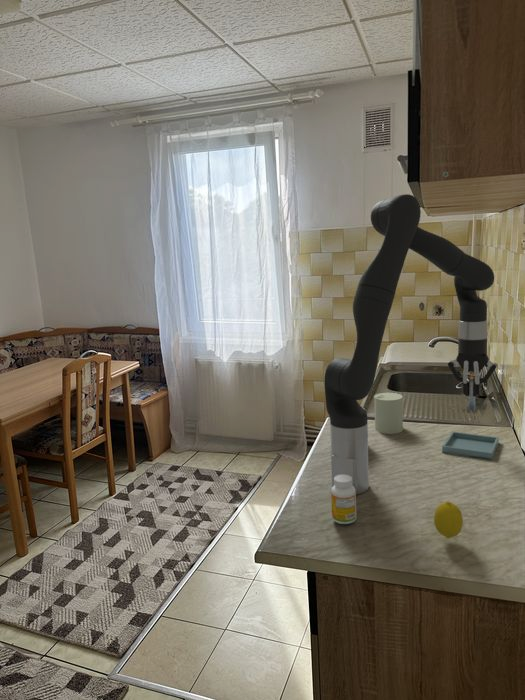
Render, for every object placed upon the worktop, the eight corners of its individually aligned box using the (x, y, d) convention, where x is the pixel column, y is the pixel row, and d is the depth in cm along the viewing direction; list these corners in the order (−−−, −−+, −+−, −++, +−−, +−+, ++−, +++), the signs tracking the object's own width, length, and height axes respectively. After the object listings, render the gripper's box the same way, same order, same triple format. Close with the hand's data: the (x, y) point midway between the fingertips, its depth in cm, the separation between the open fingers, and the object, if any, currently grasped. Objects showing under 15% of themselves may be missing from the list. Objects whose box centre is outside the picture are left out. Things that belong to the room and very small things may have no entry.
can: (371, 426, 172) (370, 392, 170) (398, 424, 173) (397, 390, 171) (378, 435, 163) (378, 399, 161) (407, 433, 164) (406, 397, 162)
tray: (491, 460, 140) (491, 453, 140) (442, 452, 147) (442, 446, 147) (498, 443, 151) (498, 437, 151) (452, 437, 158) (452, 431, 158)
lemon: (447, 527, 108) (447, 493, 107) (468, 540, 103) (469, 503, 102) (428, 535, 106) (428, 500, 104) (449, 548, 101) (449, 511, 99)
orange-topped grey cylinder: (474, 410, 146) (475, 376, 144) (467, 409, 147) (467, 376, 145) (475, 408, 147) (476, 374, 146) (468, 407, 148) (468, 374, 147)
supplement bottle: (335, 511, 118) (333, 471, 116) (358, 514, 116) (357, 474, 114) (329, 522, 113) (328, 482, 111) (353, 526, 111) (352, 484, 109)
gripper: (444, 337, 144) (443, 397, 147) (497, 339, 136) (495, 401, 140) (450, 333, 150) (449, 390, 153) (501, 335, 143) (499, 394, 146)
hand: (471, 395), depth 146 cm, fingers closed on orange-topped grey cylinder, 2 cm apart
